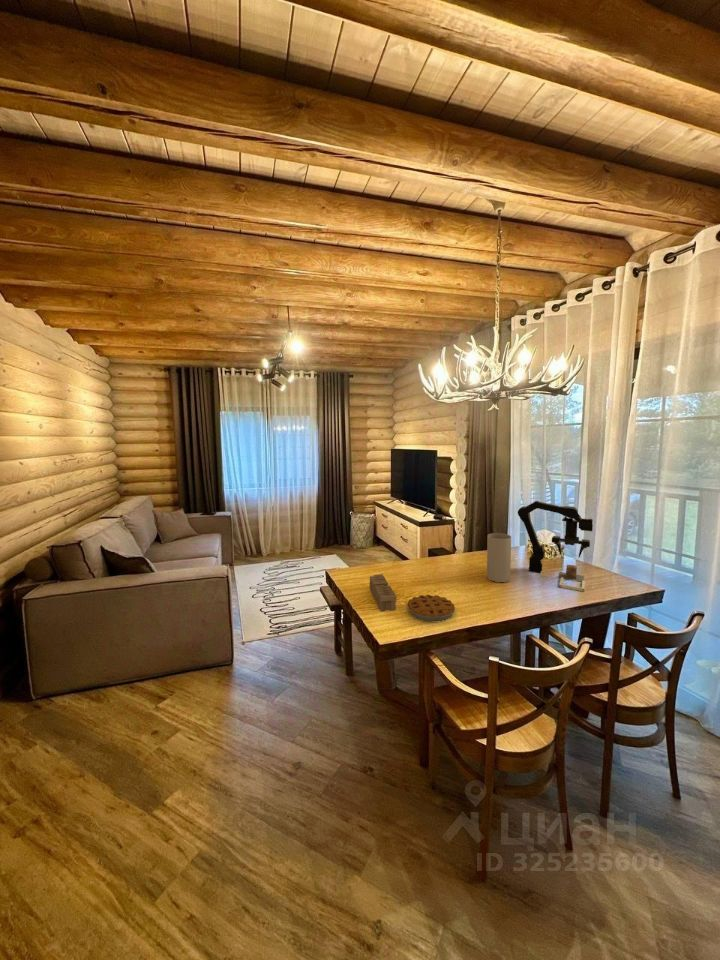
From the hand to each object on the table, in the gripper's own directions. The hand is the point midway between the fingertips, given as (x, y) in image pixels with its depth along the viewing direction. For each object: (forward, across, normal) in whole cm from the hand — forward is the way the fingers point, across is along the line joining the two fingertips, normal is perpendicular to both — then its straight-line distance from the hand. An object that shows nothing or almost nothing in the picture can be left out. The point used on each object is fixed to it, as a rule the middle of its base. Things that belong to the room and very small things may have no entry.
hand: (569, 555), depth 211 cm
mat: (+12, +1, -2) cm, 12 cm away
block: (+12, +1, -2) cm, 12 cm away
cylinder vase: (+12, -33, -25) cm, 43 cm away
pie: (+13, -50, -82) cm, 97 cm away
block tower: (+13, -77, -81) cm, 113 cm away
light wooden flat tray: (+12, +3, -14) cm, 18 cm away
